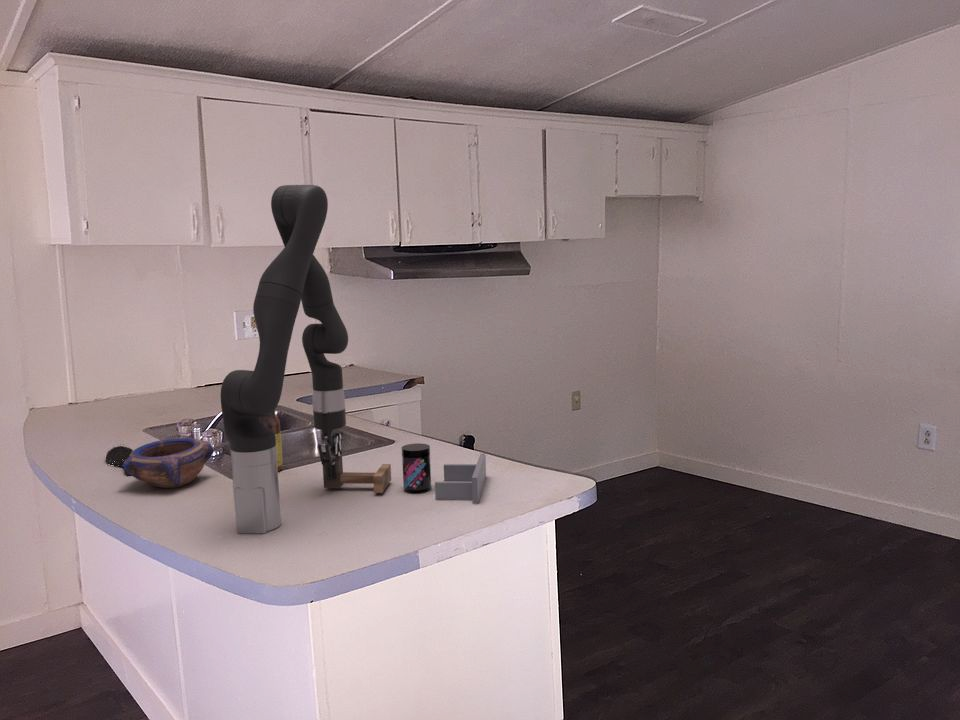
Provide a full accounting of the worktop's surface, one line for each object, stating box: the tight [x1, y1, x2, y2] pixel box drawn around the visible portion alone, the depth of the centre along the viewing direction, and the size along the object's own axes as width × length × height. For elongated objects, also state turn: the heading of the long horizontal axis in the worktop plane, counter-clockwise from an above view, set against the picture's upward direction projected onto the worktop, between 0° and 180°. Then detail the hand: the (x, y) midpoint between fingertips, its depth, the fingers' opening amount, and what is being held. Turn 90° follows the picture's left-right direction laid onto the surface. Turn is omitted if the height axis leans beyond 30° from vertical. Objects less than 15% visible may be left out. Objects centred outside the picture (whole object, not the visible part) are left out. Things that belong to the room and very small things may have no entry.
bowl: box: [122, 437, 215, 489], centre depth 202 cm, size 18×18×10 cm
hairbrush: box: [105, 443, 134, 477], centre depth 220 cm, size 8×4×25 cm
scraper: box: [322, 455, 392, 494], centre depth 193 cm, size 10×15×7 cm, turn 84°
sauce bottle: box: [259, 409, 284, 472], centre depth 210 cm, size 6×6×20 cm
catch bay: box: [434, 453, 487, 504], centre depth 191 cm, size 20×10×6 cm, turn 174°
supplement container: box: [401, 442, 432, 494], centre depth 191 cm, size 7×7×10 cm
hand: (333, 477), depth 194 cm, fingers closed on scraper, 3 cm apart
